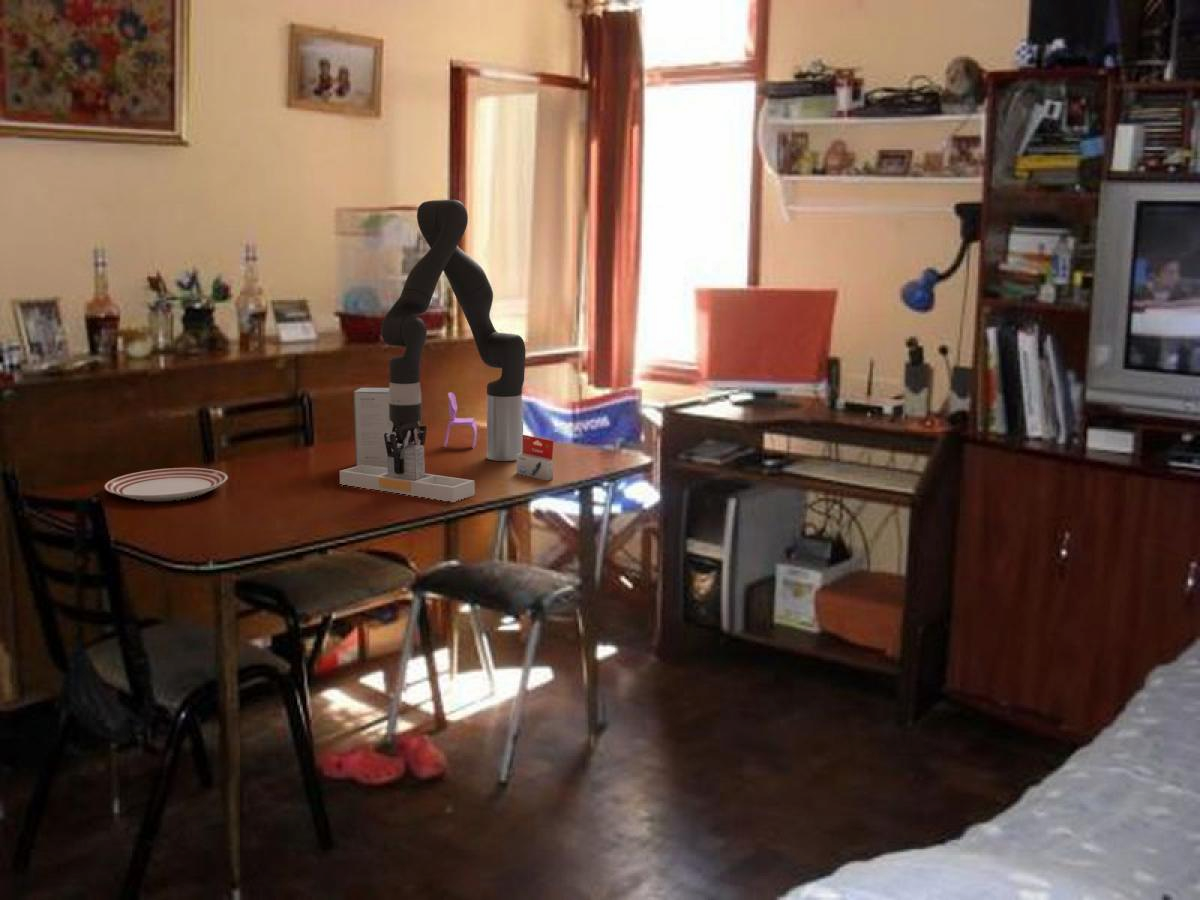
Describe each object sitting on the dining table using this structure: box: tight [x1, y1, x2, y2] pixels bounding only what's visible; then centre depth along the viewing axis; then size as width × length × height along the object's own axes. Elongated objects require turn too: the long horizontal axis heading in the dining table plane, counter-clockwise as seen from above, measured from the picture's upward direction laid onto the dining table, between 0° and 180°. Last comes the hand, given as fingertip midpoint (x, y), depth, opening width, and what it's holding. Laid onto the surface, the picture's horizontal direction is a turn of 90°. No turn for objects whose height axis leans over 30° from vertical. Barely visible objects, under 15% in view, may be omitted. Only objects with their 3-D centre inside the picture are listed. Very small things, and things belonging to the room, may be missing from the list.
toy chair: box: [442, 391, 478, 449], centre depth 369 cm, size 8×9×15 cm
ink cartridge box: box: [516, 434, 554, 481], centre depth 334 cm, size 2×11×10 cm, turn 47°
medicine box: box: [387, 443, 426, 481], centre depth 317 cm, size 8×4×9 cm, turn 71°
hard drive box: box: [353, 387, 421, 468], centre depth 342 cm, size 16×8×20 cm, turn 84°
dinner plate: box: [104, 467, 229, 502], centre depth 313 cm, size 28×27×3 cm
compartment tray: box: [339, 465, 476, 503], centre depth 318 cm, size 9×33×4 cm, turn 61°
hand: (406, 471), depth 318 cm, fingers closed on medicine box, 5 cm apart
